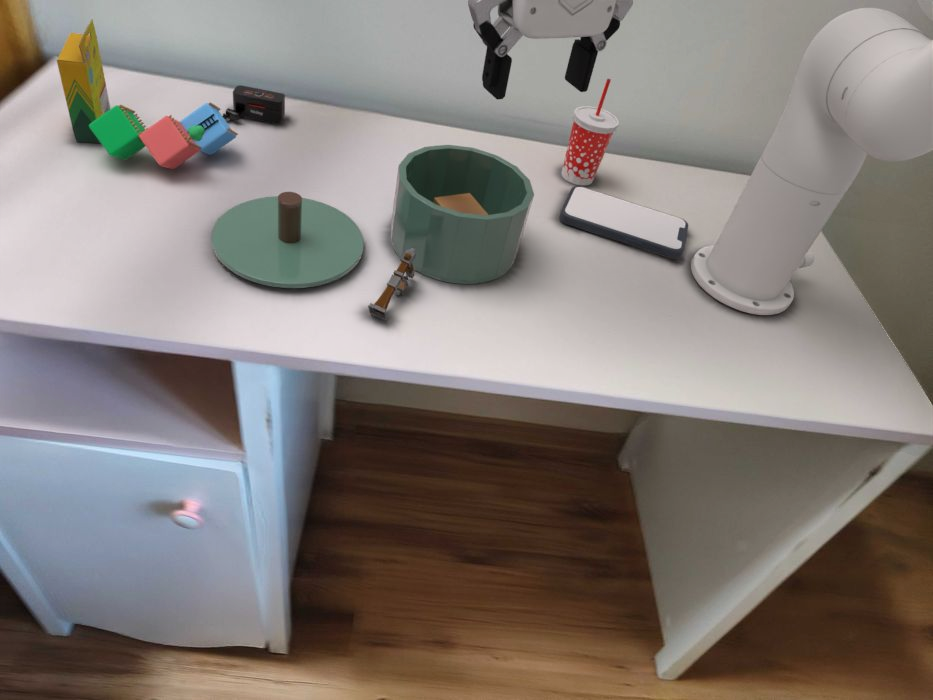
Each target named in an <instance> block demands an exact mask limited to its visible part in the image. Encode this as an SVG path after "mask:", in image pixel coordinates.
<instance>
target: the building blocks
mask: <svg viewBox="0 0 933 700" xmlns="http://www.w3.org/2000/svg"><path fill="white" fill-rule="evenodd" d="M220 111H221V108H220V107H219V106H217V105H215V104H214V103H213V102H211V101H210V102H205V103H204V104H202V105H201V106H199V107H198V108H197V109H195V110H193V112H191V113H190V114H188V115H186V116H185V117H184V118H182V119H181V120H180V121H179V120H177V119H175V117H173V116H172V114H170V115H165V116H163V117H162V118H160V119H159V120H158V121H156V122H155V123H154V124H151V126H149V127H147V125H146V124H145V123H144V121H143V119H140V118H141V117H140V116H138V113H137V112H136V110H134V109H132V108H129V107H128V106H125V105H124V104H119V105H114V106H113V107H110V110H109V111H107V112H106V113H104V114H103V115H102V116H100V117H99V118H97V119H96V120H95V121H93V122H92V123H90V124H89V127H90V129H91V130H92V132H93V133H94V134H95V136H96V137H97V138H98V140H99V141H100V143H99V144H101V146H102V147H103V148H104V150H105V151H106V152H107V154H108V155H109V156H110V157H113V158H116V159H120V160H124V161H126V160H128V159H130V158H131V157H132V156H134V155H135V154H137V153H138V152H139V151H141V150H143V149H144V148H145V147H146V149H147V151H148V152H149V153H150V155H151V156H152V157H153V159H154V160H155V161H156V163H157V164H158V165H159V166H160V167H163V168H167V169H169V170H175V169H176V168H178V167H179V166H181V165H182V164H183V163H185V162H186V161H188V160H189V159H190V158H192V157H194V156H195V155H196V154H198V153H199V152H202V153H204V154H206V155H208V156H211V155H214V154H215V153H216V152H217V151H219V150H220V149H222V148H223V147H224V146H225V147H226V145H228V144H229V143H230V142H232V141H234V140H235V139H236V138H237V136H238V135H239V133H238V132H236V131H234V130H233V129H232V128H231V126H230V125H229V123H228V122H227V121H226V119H224V118H223V114H221V112H220ZM142 121H143V122H142Z"/></svg>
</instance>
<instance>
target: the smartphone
mask: <svg viewBox="0 0 933 700" xmlns="http://www.w3.org/2000/svg"><path fill="white" fill-rule="evenodd" d="M558 219H559V221H560V222H561V223H563V224H564V225H567V226H570V227H573V228H577V229H579V230H581V231H585V232H588V233H591V234H595V235H598V236H601V237H604V238H607V239H610V240H613V241H616V242H619V243H621V244H625V245H628V246H631V247H635V248H637V249H641V250H644V251H646V252H650V253H653V254H655V255H660V256H662V257H666V258H669V259H672V260H677V259H680V258H681V257H682V256H683V253H684V251H685V247H686V241H687V236H688V231H689V223H688V221H686V220H685V219H684V218H681V217H679V216H676V215H673V214H670V213H666V212H663V211H660V210H657V209H653V208H651V207H648V206H645V205H641V204H638V203H635V202H631V201H628V200H626V199H622V198H619V197H616V196H613V195H610V194H607V193H603V192H601V191H597V190H594V189H590V188H588V187H585V186H582V185H574V186H572V187H571V188H570V190H569V193H568V195H567V197H566V198H565V201H564V203H563V205H562V207H561V209H560V213H559V218H558Z"/></svg>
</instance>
